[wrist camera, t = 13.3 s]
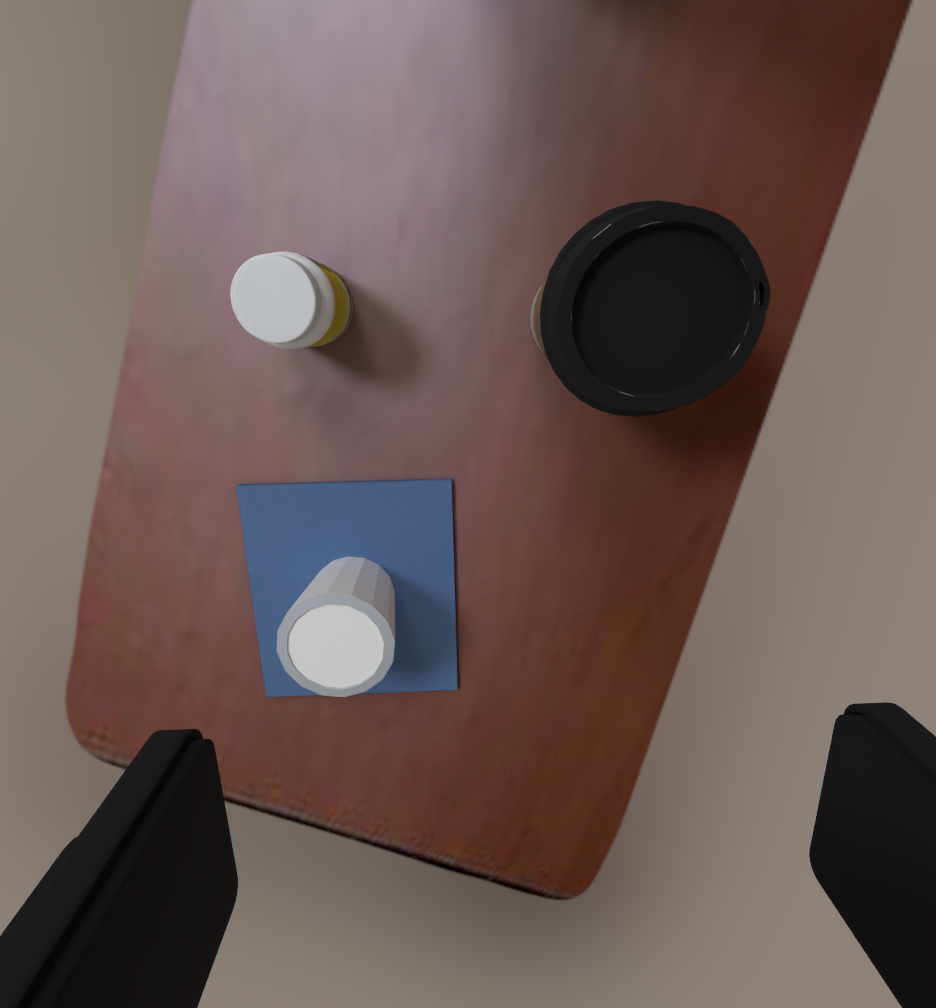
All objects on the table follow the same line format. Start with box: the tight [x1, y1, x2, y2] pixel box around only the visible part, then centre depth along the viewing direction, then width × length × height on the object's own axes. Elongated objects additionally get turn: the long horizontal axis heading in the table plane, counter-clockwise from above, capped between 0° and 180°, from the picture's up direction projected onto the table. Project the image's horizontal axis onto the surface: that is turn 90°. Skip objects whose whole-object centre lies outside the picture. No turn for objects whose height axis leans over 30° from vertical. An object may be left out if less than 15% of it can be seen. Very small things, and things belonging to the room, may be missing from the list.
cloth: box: [236, 479, 458, 697], centre depth 41 cm, size 16×14×1 cm
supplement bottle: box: [231, 251, 353, 350], centre depth 31 cm, size 5×5×8 cm
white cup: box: [277, 556, 395, 697], centre depth 37 cm, size 7×7×7 cm
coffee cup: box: [530, 200, 770, 416], centre depth 29 cm, size 8×8×15 cm
